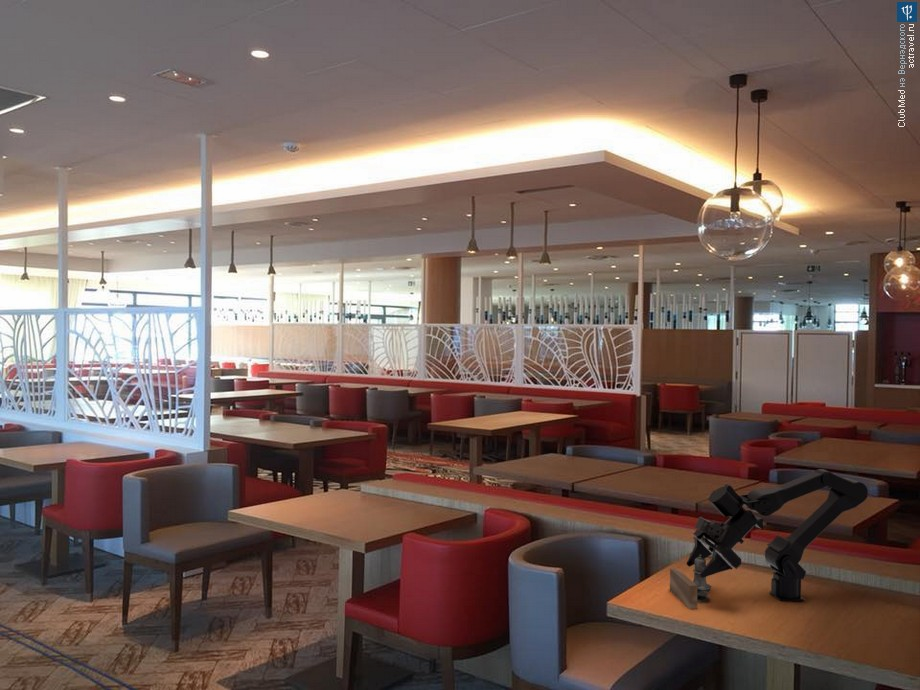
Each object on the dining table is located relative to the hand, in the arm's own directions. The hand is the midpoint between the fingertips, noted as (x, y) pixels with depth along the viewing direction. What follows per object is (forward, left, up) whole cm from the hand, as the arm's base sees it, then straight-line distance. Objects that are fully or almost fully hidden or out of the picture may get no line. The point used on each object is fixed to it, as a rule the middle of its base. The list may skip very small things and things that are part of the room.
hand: (694, 570), depth 205 cm
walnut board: (+3, 0, -8) cm, 8 cm away
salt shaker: (-2, 0, -8) cm, 8 cm away
